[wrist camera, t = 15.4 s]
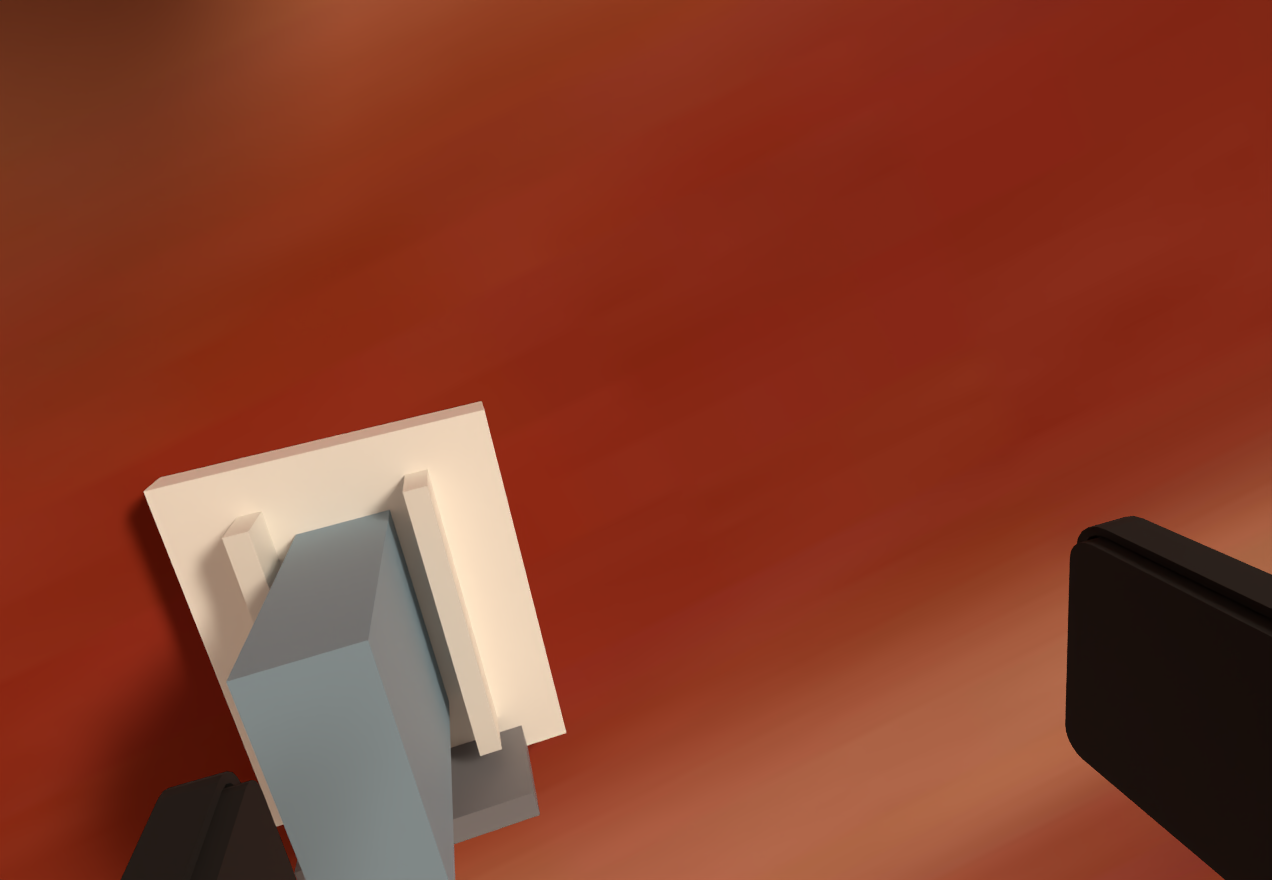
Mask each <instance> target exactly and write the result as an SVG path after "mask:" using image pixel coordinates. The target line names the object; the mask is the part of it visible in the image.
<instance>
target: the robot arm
mask: <svg viewBox="0 0 1272 880" xmlns="http://www.w3.org/2000/svg"><path fill="white" fill-rule="evenodd" d="M1065 726H1066V733H1067V736H1068V739H1069V741H1070V743H1071V745H1072V747H1073V748H1074V750H1075V751H1076V752H1077V754H1078V755H1079V756H1080V757H1081V758H1082V759H1083V760H1084V761H1085V762H1087V763H1088V764H1089V765H1090V766H1091V767H1093V768H1094V769H1095V770H1096V771H1097V772H1098V773H1100V774H1101V775H1102V776H1103V777H1104V778H1106V779H1107V780H1108V781H1109V782H1110V783H1111V784H1113V785H1114V786H1115V787H1116V788H1117V789H1119V790H1120V791H1121V792H1122V793H1123V794H1124V795H1126V796H1127V797H1128V798H1129V799H1130V800H1132V801H1133V802H1134V803H1135V804H1136V805H1137V806H1139V807H1140V808H1141V809H1142V810H1143V811H1145V812H1146V813H1147V814H1148V815H1149V816H1150V817H1152V818H1153V819H1154V820H1155V821H1156V822H1158V823H1159V824H1160V825H1161V826H1162V827H1163V828H1165V829H1166V830H1167V831H1168V832H1169V833H1171V834H1172V835H1173V836H1174V837H1175V838H1176V839H1178V840H1179V841H1180V842H1181V843H1182V844H1184V845H1185V846H1186V847H1187V848H1188V849H1190V850H1191V851H1192V852H1193V853H1194V854H1195V855H1197V856H1198V857H1199V858H1200V859H1201V860H1203V861H1204V862H1205V863H1206V864H1207V865H1208V866H1210V867H1211V868H1212V869H1213V870H1214V871H1216V872H1217V873H1218V874H1219V875H1220V876H1221V877H1223V878H1224V879H1225V880H1272V575H1271V574H1269V573H1266V572H1264V571H1262V570H1260V569H1257V568H1255V567H1253V566H1250V565H1248V564H1246V563H1244V562H1241V561H1239V560H1237V559H1234V558H1232V557H1230V556H1228V555H1225V554H1223V553H1221V552H1218V551H1216V550H1214V549H1211V548H1209V547H1207V546H1205V545H1202V544H1200V543H1198V542H1195V541H1193V540H1191V539H1189V538H1186V537H1184V536H1182V535H1179V534H1177V533H1175V532H1173V531H1170V530H1168V529H1166V528H1163V527H1161V526H1159V525H1157V524H1154V523H1152V522H1150V521H1147V520H1145V519H1143V518H1139V517H1135V516H1130V517H1123V518H1120V519H1116V520H1113V521H1109V522H1106V523H1102V524H1099V525H1095V526H1092V527H1088V528H1087V529H1085V530H1084V531H1082V532H1081V534H1080V536H1079V537H1078V541H1077V544H1076V545H1075V546H1074V547H1073V549H1072V550H1071V554H1070V574H1069V610H1068V647H1067V683H1066V719H1065ZM121 880H296V877H295V874H294V872H293V869H292V867H291V864H290V861H289V859H288V856H287V854H286V851H285V848H284V846H283V843H282V841H281V838H280V835H279V833H278V830H277V828H276V825H275V822H274V820H273V817H272V815H271V812H270V809H269V807H268V804H267V802H266V799H265V796H264V794H263V791H262V789H261V787H260V785H259V784H258V783H257V782H256V781H254V780H251V781H247V782H244V783H240V781H239V779H238V778H237V776H236V775H235V774H234V773H233V772H228V771H227V772H223V773H220V774H216V775H213V776H209V777H205V778H202V779H198V780H195V781H191V782H188V783H184V784H181V785H177V786H174V787H170V788H168V789H166V790H165V791H163V792H162V794H161V795H160V797H159V798H158V800H157V802H156V804H155V807H154V809H153V811H152V813H151V815H150V817H149V820H148V822H147V824H146V826H145V828H144V830H143V833H142V835H141V837H140V839H139V841H138V844H137V846H136V848H135V850H134V852H133V854H132V857H131V859H130V861H129V863H128V865H127V867H126V870H125V872H124V874H123V876H122V878H121Z"/></svg>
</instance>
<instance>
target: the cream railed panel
mask: <svg viewBox="0 0 1272 880" xmlns="http://www.w3.org/2000/svg"><path fill="white" fill-rule="evenodd" d="M143 492H144V494H145V497H146V499H147V502H148V505H149V507H150V510H151V512H152V515H153V517H154V520H155V522H156V525H157V527H158V530H159V532H160V535H161V537H162V540H163V542H164V545H165V547H166V550H167V552H168V555H169V558H170V560H171V563H172V565H173V568H174V570H175V573H176V575H177V578H178V580H179V583H180V585H181V588H182V590H183V593H184V595H185V598H186V600H187V603H188V605H189V608H190V610H191V613H192V616H193V618H194V621H195V623H196V626H197V628H198V631H199V633H200V636H201V638H202V641H203V643H204V646H205V648H206V651H207V653H208V656H209V658H210V661H211V663H212V666H213V669H214V671H215V674H216V676H217V679H218V681H219V684H220V686H221V689H222V691H223V694H224V696H225V699H226V701H227V704H228V706H229V709H230V711H231V714H232V716H233V719H234V721H235V724H236V727H237V729H238V732H239V734H240V737H241V739H242V742H243V744H244V747H245V749H246V752H247V754H248V757H249V759H250V762H251V764H252V767H253V769H254V772H255V774H256V777H257V780H258V782H259V785H260V787H261V789H262V791H263V794H264V796H265V799H266V802H267V804H268V807H269V809H270V812H271V815H272V817H273V820H274V822H275V825H276V827H277V826H280V825H283V822H282V819H281V817H280V815H279V812H278V810H277V807H276V805H275V802H274V800H273V797H272V795H271V792H270V790H269V787H268V785H267V782H266V780H265V777H264V775H263V772H262V770H261V767H260V765H259V762H258V760H257V757H256V755H255V752H254V750H253V747H252V745H251V742H250V740H249V737H248V735H247V733H246V730H245V728H244V725H243V723H242V720H241V718H240V715H239V713H238V710H237V708H236V705H235V703H234V700H233V698H232V695H231V693H230V690H229V688H228V685H227V683H226V681H227V679H228V677H229V675H230V672H231V670H232V668H233V666H234V664H235V662H236V660H237V658H238V656H239V654H240V651H241V649H242V647H243V645H244V643H245V641H246V639H247V637H248V635H249V632H250V630H251V628H252V626H253V624H254V622H255V620H256V618H257V616H258V613H259V611H260V609H261V607H262V605H263V603H264V601H265V599H266V597H267V595H268V592H269V590H270V588H271V586H272V584H273V582H274V580H275V578H276V576H277V573H278V571H279V569H280V567H281V565H282V563H283V561H284V559H285V557H286V554H287V552H288V550H289V548H290V546H291V544H292V542H293V540H294V538H295V536H296V534H300V533H304V532H308V531H311V530H315V529H319V528H323V527H327V526H330V525H334V524H338V523H342V522H345V521H349V520H353V519H357V518H361V517H364V516H368V515H372V514H376V513H379V512H383V511H387V510H390V512H391V515H392V519H393V522H394V525H395V528H396V532H397V535H398V538H399V541H400V545H401V548H402V551H403V554H404V557H405V561H406V564H407V567H408V570H409V574H410V577H411V580H412V583H413V587H414V590H415V593H416V596H417V599H418V603H419V606H420V609H421V612H422V616H423V619H424V622H425V625H426V629H427V632H428V635H429V638H430V642H431V645H432V648H433V651H434V654H435V658H436V661H437V664H438V667H439V671H440V674H441V677H442V680H443V684H444V687H445V690H446V693H447V696H448V700H449V713H450V743H451V774H452V804H453V834H454V844H456V843H459V842H462V841H465V840H468V839H471V838H473V837H476V836H479V835H482V834H485V833H488V832H491V831H494V830H497V829H500V828H503V827H506V826H509V825H512V824H515V823H517V822H520V821H523V820H526V819H529V818H532V817H535V816H538V815H540V812H539V807H538V801H537V796H536V791H535V785H534V780H533V774H532V769H531V764H530V758H529V753H528V748H527V745H530V744H533V743H536V742H540V741H543V740H546V739H549V738H552V737H555V736H558V735H561V734H564V733H566V730H565V726H564V722H563V718H562V714H561V710H560V707H559V703H558V699H557V695H556V691H555V687H554V683H553V679H552V675H551V671H550V667H549V663H548V659H547V655H546V651H545V647H544V643H543V640H542V636H541V632H540V628H539V624H538V620H537V616H536V612H535V608H534V604H533V600H532V596H531V592H530V588H529V584H528V580H527V576H526V573H525V569H524V565H523V561H522V557H521V553H520V549H519V545H518V541H517V537H516V533H515V529H514V525H513V521H512V517H511V513H510V510H509V506H508V502H507V498H506V494H505V490H504V486H503V482H502V478H501V474H500V470H499V466H498V462H497V458H496V454H495V450H494V446H493V443H492V439H491V435H490V431H489V427H488V423H487V419H486V415H485V411H484V407H483V404H482V401H480V402H476V403H472V404H467V405H463V406H459V407H455V408H451V409H446V410H442V411H438V412H434V413H430V414H425V415H421V416H417V417H413V418H409V419H404V420H400V421H396V422H392V423H388V424H383V425H379V426H375V427H371V428H367V429H362V430H358V431H354V432H350V433H346V434H341V435H337V436H333V437H329V438H324V439H320V440H316V441H312V442H308V443H303V444H299V445H295V446H291V447H287V448H282V449H278V450H274V451H270V452H266V453H261V454H257V455H253V456H249V457H245V458H240V459H236V460H232V461H228V462H224V463H219V464H215V465H211V466H207V467H203V468H198V469H194V470H190V471H186V472H182V473H177V474H173V475H169V476H165V477H161V478H159V479H158V480H156V481H155V482H154V483H153V484H152V485H151V486H149V487H148V488H147V489H146V490H145V491H143ZM295 875H296V878H297V880H306V879H305V877H304V874H303V872H302V869H301V867H300V864H299V862H298V859H297V864H296V868H295Z"/></svg>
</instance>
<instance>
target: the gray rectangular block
mask: <svg viewBox="0 0 1272 880" xmlns="http://www.w3.org/2000/svg"><path fill="white" fill-rule="evenodd" d="M226 683H227V685H228V688H229V690H230V693H231V695H232V698H233V700H234V703H235V705H236V708H237V710H238V713H239V715H240V718H241V720H242V723H243V725H244V728H245V730H246V733H247V735H248V737H249V740H250V742H251V745H252V747H253V750H254V752H255V755H256V757H257V760H258V762H259V765H260V767H261V770H262V772H263V775H264V777H265V780H266V782H267V785H268V787H269V790H270V792H271V795H272V797H273V800H274V802H275V805H276V807H277V810H278V812H279V815H280V817H281V819H282V822H283V824H284V827H285V829H286V832H287V834H288V837H289V839H290V842H291V844H292V847H293V849H294V852H295V854H296V857H297V859H298V862H299V864H300V867H301V869H302V872H303V874H304V877H305V879H306V880H455V865H454V834H453V804H452V774H451V743H450V713H449V700H448V696H447V693H446V690H445V687H444V684H443V680H442V677H441V674H440V671H439V667H438V664H437V661H436V658H435V654H434V651H433V648H432V645H431V642H430V638H429V635H428V632H427V629H426V625H425V622H424V619H423V616H422V612H421V609H420V606H419V603H418V599H417V596H416V593H415V590H414V587H413V583H412V580H411V577H410V574H409V570H408V567H407V564H406V561H405V557H404V554H403V551H402V548H401V545H400V541H399V538H398V535H397V532H396V528H395V525H394V522H393V519H392V515H391V512H390V510H387V511H383V512H379V513H376V514H372V515H368V516H364V517H361V518H357V519H353V520H349V521H345V522H342V523H338V524H334V525H330V526H327V527H323V528H319V529H315V530H311V531H308V532H304V533H300V534H296V536H295V538H294V540H293V542H292V544H291V546H290V548H289V550H288V552H287V554H286V557H285V559H284V561H283V563H282V565H281V567H280V569H279V571H278V573H277V576H276V578H275V580H274V582H273V584H272V586H271V588H270V590H269V592H268V595H267V597H266V599H265V601H264V603H263V605H262V607H261V609H260V611H259V613H258V616H257V618H256V620H255V622H254V624H253V626H252V628H251V630H250V632H249V635H248V637H247V639H246V641H245V643H244V645H243V647H242V649H241V651H240V654H239V656H238V658H237V660H236V662H235V664H234V666H233V668H232V670H231V672H230V675H229V677H228V679H227V681H226Z"/></svg>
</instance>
